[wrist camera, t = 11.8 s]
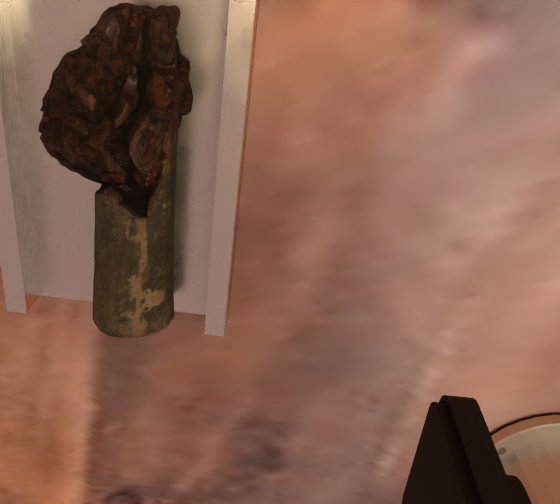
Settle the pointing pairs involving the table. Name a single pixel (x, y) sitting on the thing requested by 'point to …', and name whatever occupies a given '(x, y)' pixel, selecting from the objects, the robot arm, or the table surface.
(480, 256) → the table surface
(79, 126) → the brown knobbed club
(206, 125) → the cradle
